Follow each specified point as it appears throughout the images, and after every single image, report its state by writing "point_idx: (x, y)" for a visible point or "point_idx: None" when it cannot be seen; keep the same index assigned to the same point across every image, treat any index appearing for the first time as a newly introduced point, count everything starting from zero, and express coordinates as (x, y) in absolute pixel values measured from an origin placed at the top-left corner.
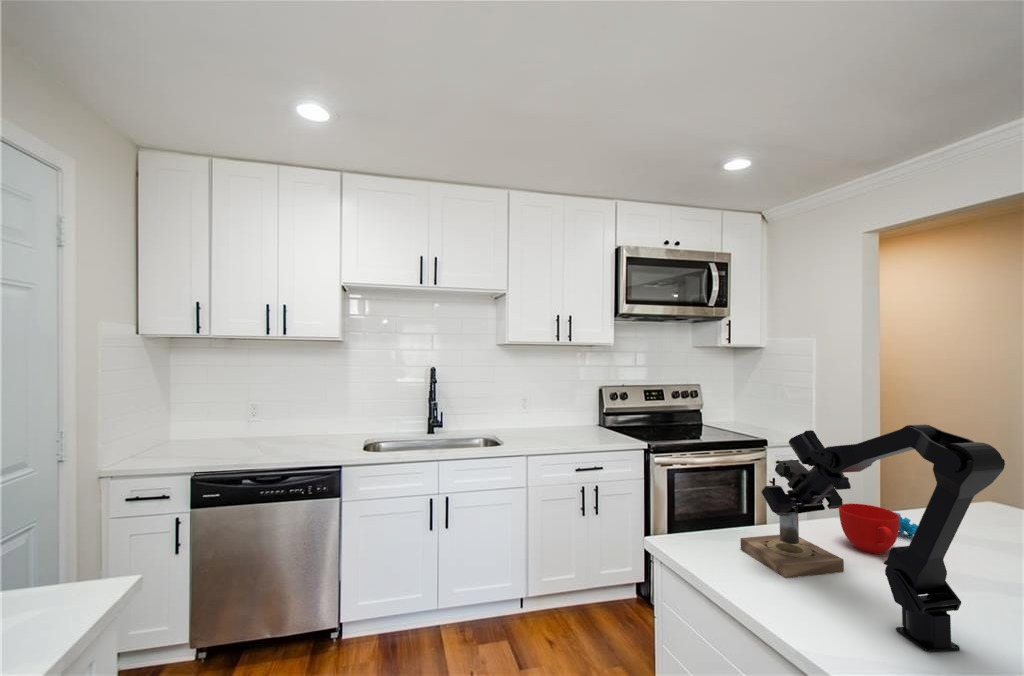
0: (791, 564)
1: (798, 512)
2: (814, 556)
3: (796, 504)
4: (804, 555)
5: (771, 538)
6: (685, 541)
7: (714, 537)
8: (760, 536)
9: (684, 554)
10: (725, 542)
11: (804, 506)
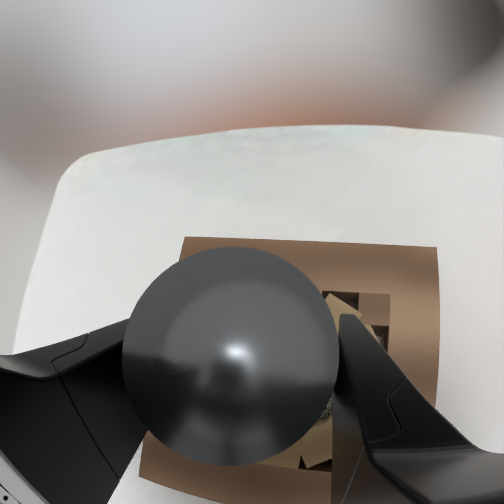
0: (162, 484)
1: (332, 407)
2: (322, 476)
3: (233, 464)
4: (288, 457)
5: (302, 270)
6: (112, 180)
7: (200, 165)
8: (273, 241)
9: (56, 245)
10: (200, 200)
11: (341, 488)
